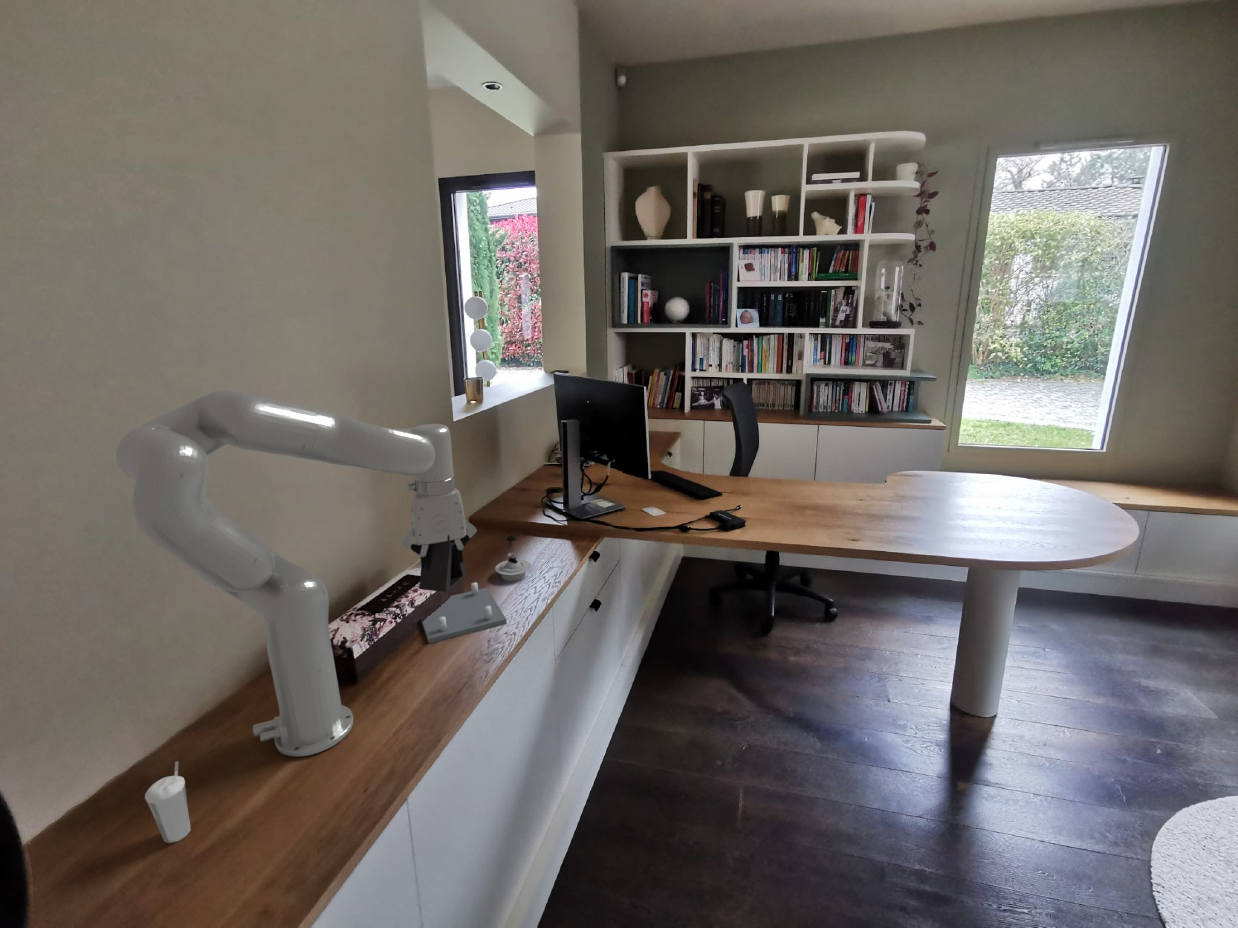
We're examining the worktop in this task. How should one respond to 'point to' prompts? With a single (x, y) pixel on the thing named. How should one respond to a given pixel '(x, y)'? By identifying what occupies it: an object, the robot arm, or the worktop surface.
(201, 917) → the worktop surface
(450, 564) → the phone stand
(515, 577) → the grey spinning top
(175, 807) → the milkshake
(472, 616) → the base plate
